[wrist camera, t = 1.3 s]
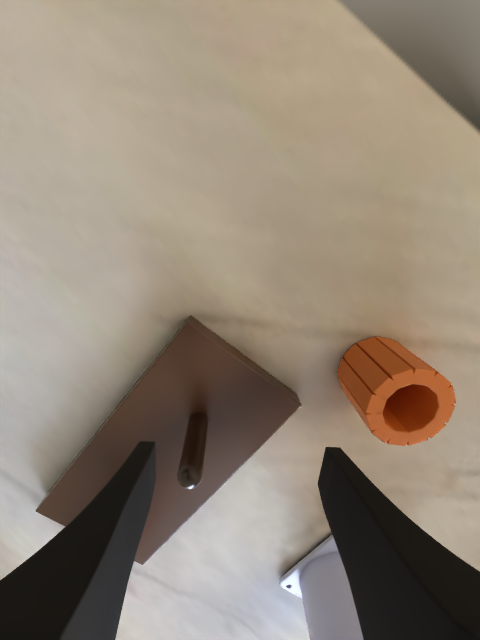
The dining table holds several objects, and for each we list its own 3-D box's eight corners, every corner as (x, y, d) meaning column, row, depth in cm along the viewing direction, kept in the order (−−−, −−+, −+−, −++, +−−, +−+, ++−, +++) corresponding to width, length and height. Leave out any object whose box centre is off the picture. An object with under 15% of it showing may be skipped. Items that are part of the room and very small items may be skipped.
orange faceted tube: (422, 364, 23) (473, 402, 18) (371, 412, 24) (406, 459, 19) (374, 322, 22) (415, 351, 17) (323, 374, 23) (348, 415, 18)
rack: (297, 394, 23) (325, 465, 16) (147, 547, 27) (120, 654, 21) (190, 315, 21) (171, 359, 14) (45, 495, 25) (-21, 595, 19)
